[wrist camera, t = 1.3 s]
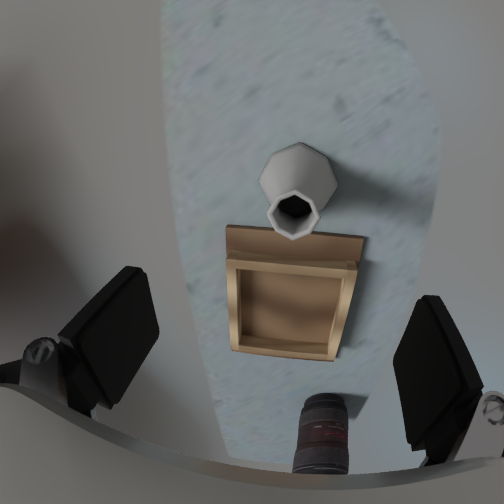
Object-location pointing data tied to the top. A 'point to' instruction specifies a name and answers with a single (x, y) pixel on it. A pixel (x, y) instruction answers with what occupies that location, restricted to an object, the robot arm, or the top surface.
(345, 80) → the top surface
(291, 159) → the flask
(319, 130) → the top surface
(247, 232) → the shaker holder
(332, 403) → the camera lens
